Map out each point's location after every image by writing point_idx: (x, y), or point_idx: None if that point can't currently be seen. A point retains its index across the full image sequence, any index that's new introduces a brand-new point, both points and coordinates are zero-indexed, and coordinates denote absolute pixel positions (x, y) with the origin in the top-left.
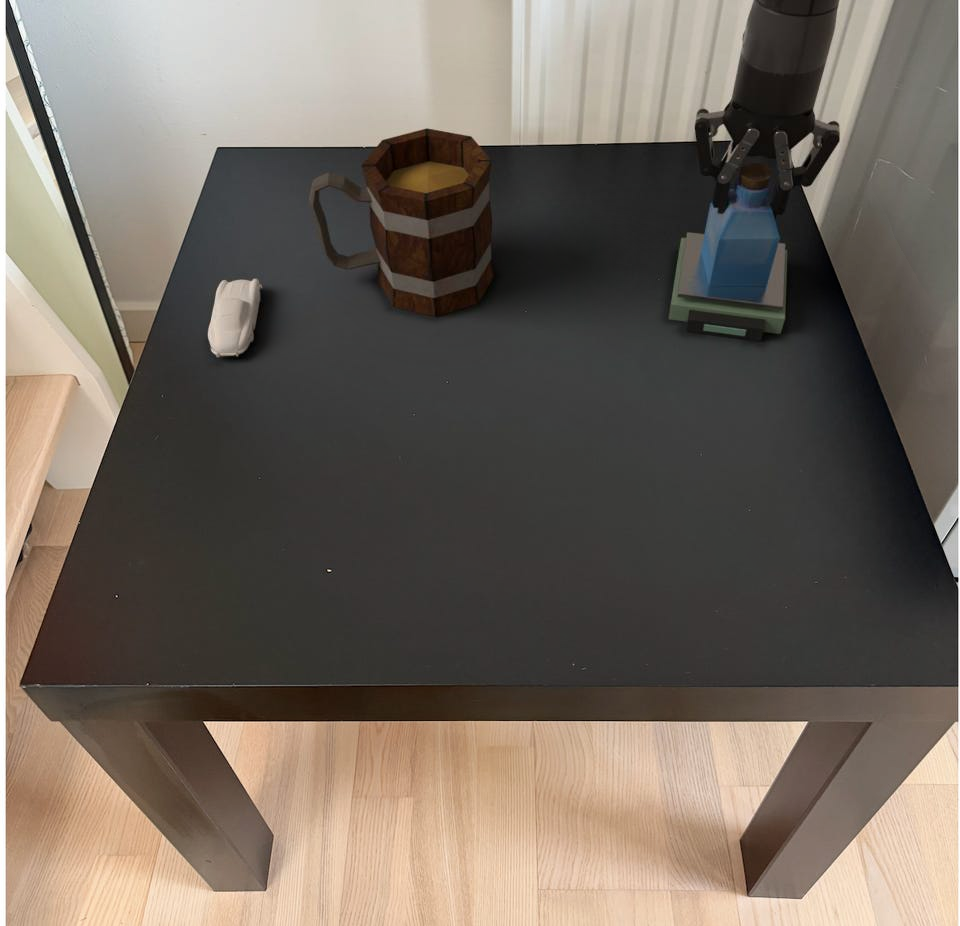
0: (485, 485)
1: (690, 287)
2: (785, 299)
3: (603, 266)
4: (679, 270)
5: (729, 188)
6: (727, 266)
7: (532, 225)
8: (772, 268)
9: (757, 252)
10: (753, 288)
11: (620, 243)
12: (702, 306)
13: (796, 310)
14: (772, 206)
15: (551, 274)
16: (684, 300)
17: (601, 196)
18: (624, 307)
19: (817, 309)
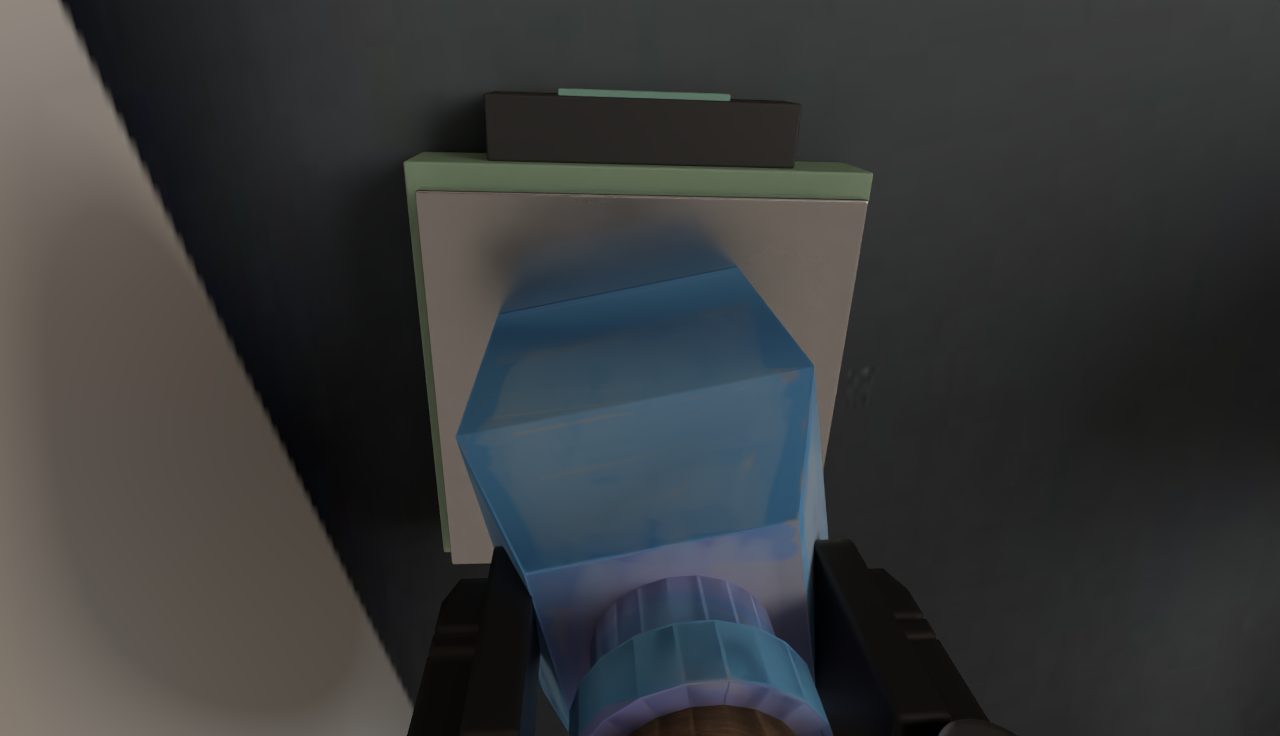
0: None
1: (814, 248)
2: (417, 286)
3: (1041, 400)
4: None
5: (883, 691)
6: (696, 312)
7: (1230, 538)
8: None
9: (568, 373)
10: (551, 289)
11: (972, 513)
12: (748, 179)
13: (381, 300)
14: (527, 612)
15: (1222, 330)
16: None
17: (1004, 685)
18: (998, 203)
19: (307, 320)
